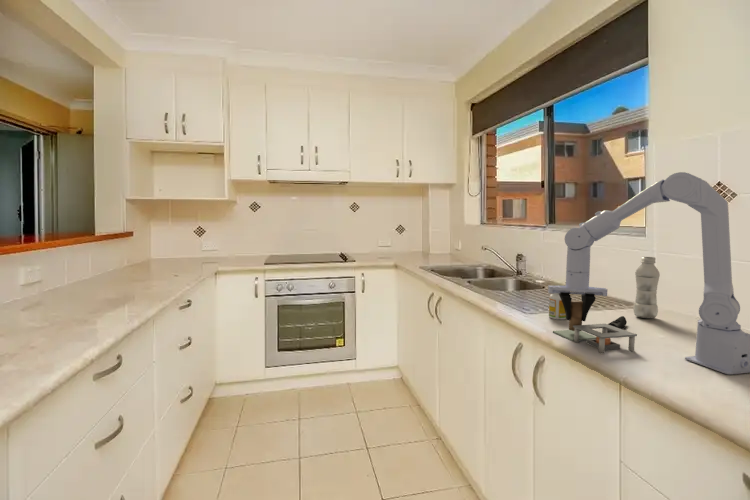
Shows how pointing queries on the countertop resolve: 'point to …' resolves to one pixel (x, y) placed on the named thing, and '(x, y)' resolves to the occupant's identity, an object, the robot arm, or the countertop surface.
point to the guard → (604, 336)
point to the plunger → (607, 340)
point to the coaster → (570, 335)
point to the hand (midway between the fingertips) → (575, 319)
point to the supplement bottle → (556, 307)
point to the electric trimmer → (618, 323)
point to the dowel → (575, 314)
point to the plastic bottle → (646, 289)
